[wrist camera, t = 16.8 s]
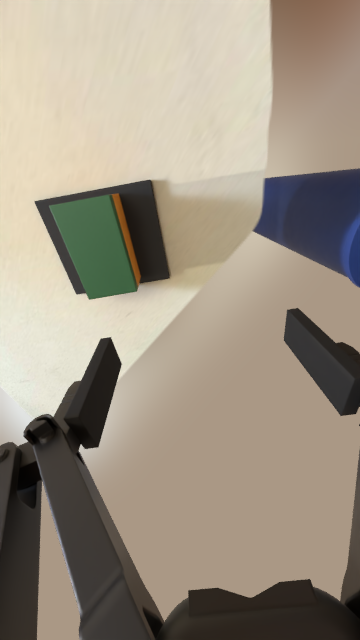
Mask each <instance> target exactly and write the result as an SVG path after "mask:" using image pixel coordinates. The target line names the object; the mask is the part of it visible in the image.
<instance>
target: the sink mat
mask: <svg viewBox="0 0 360 640" xmlns="http://www.w3.org/2000/svg"><path fill="white" fill-rule="evenodd" d="M110 194H119V196H120V200H121V204H122V208H123V211H124V215H125V219H126V223H127V226H128V230H129V234H130V238H131V241H132V245H133V249H134V253H135V256H136V260H137V264H138V268H139V271H140V275H141V278H140V282H139V283H145V282H151V281H156V280H162V279H168V278H169V273H168V268H167V262H166V257H165V252H164V247H163V242H162V237H161V231H160V226H159V221H158V216H157V211H156V206H155V201H154V195H153V190H152V185H151V180H146V181H140V182H135V183H130V184H124V185H119V186H114V187H109V188H103V189H98V190H93V191H87V192H82V193H77V194H71V195H66V196H61V197H56V198H50V199H45V200H40V201H35V204H36V206H37V208H38V211H39V213H40V215H41V217H42V219H43V222H44V224H45V226H46V228H47V230H48V233H49V235H50V237H51V239H52V241H53V244H54V246H55V248H56V250H57V252H58V255H59V257H60V259H61V261H62V263H63V266H64V268H65V270H66V272H67V274H68V277H69V279H70V281H71V283H72V285H73V288H74V290H75V292H76V294H82V293H86V291H85V289H84V287H83V284H82V282H81V280H80V277H79V275H78V273H77V270H76V268H75V266H74V263H73V261H72V259H71V256H70V254H69V251H68V249H67V247H66V244H65V242H64V240H63V237H62V235H61V233H60V230H59V228H58V226H57V223H56V221H55V219H54V216H53V214H52V212H51V209H50V207H49V206H51V205H56V204H61V203H67V202H72V201H77V200H83V199H88V198H93V197H99V196H104V195H110Z"/></svg>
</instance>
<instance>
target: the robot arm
mask: <svg viewBox="0 0 360 640" xmlns="http://www.w3.org/2000/svg"><path fill="white" fill-rule="evenodd" d="M284 341H285V342H286V344H287V345H288V346H289V348H290V349H291V350H292V352H293V353H294V354H295V356H296V357H297V358H298V360H299V361H300V362H301V364H302V365H303V366H304V368H305V369H306V370H307V372H308V373H309V374H310V376H311V377H312V378H313V380H314V381H315V382H316V384H317V385H318V386H319V387H320V389H321V390H322V391H323V393H324V394H325V395H326V397H327V398H328V399H329V401H330V402H331V403H332V404H333V406H334V407H335V409H336V410H337V411H338V412H339V414H340V415H341V416H343V415H351V414H356V412H357V410H358V408H359V407H360V354H359V352H358V351H356V350H355V349H354V348H353V347H351V346H349V345H347V344H345V343H343V342H340V343H335V342H334V341H333V340H332V339H331V338H329V336H327V335H326V334H325V333H324V332H323V331H322V330H321V329H320V328H319V327H318V326H317V325H315V323H313V322H312V321H311V320H310V319H309V318H308V317H307V316H306V315H305V314H304V313H303V312H302V311H300V310H299V309H298V308H296V309H290V310H287V317H286V326H285V334H284ZM121 365H122V364H121V361H120V359H119V357H118V354H117V352H116V349H115V347H114V344H113V342H112V339H111V337H109V338H103V339H101V340H100V342H99V344H98V346H97V348H96V350H95V352H94V354H93V357H92V359H91V361H90V363H89V365H88V367H87V369H86V371H85V374H84V376H83V378H82V380H81V381H76V382H74V383H73V384H72V385H71V386H70V387H69V388H68V390H67V392H66V394H65V397H64V398H63V400H62V403H61V404H60V406H59V408H58V409H57V411H56V413H55V415H54V417H52V416H51V415H49V414H45V415H41V416H39V417H37V418H35V419H34V420H33V421H32V422H30V423H29V425H28V426H27V427H26V429H25V431H24V437H25V438H26V439H27V440H28V442H27V443H24V444H22V445H20V446H16V445H15V444H14V443H13V442H8V443H5V444H3V445H1V446H0V640H37V614H38V582H39V552H40V521H41V491H42V481H43V484H44V488H45V492H46V495H47V499H48V502H49V506H50V509H51V513H52V516H53V520H54V523H55V527H56V531H57V534H58V537H59V541H60V545H61V548H62V552H63V556H64V559H65V562H66V566H67V570H68V573H69V577H70V580H71V584H72V587H73V591H74V594H75V598H76V602H77V605H78V609H79V612H80V619H81V622H80V627H79V638H80V640H360V451H359V461H358V472H357V481H356V490H355V500H354V509H353V519H352V529H351V538H350V547H349V557H348V565H347V570H346V573H345V576H344V580H343V585H342V592H341V600H340V601H339V600H338V599H336V598H335V597H333V596H331V595H330V594H328V593H327V592H324V591H322V590H320V589H318V588H315V587H313V586H312V583H311V580H310V579H308V580H297V581H286V582H279V583H277V584H275V585H274V586H272V587H270V588H269V589H267V590H265V591H263V592H261V593H260V594H258V595H256V596H255V597H252V598H248V597H245V596H242V595H238V594H235V593H232V592H229V591H226V590H223V589H219V588H212V589H200V590H189V591H188V592H189V593H188V594H189V597H188V598H187V599H185V600H183V601H182V602H181V603H180V604H178V605H177V606H176V608H175V609H174V610H173V611H172V612H171V613H170V615H169V616H168V618H167V619H166V620H165V622H164V620H163V618H162V616H161V614H160V612H159V610H158V608H157V606H156V604H155V602H154V601H153V599H152V597H151V596H150V594H149V592H148V591H147V589H146V587H145V585H144V584H143V582H142V580H141V578H140V576H139V574H138V572H137V570H136V567H135V565H134V563H133V561H132V559H131V557H130V555H129V553H128V551H127V549H126V547H125V545H124V543H123V540H122V538H121V536H120V534H119V532H118V530H117V528H116V526H115V524H114V522H113V520H112V518H111V516H110V514H109V512H108V510H107V508H106V505H105V504H104V501H103V499H102V497H101V495H100V493H99V491H98V489H97V487H96V485H95V483H94V481H93V479H92V477H91V474H90V472H89V470H88V469H87V466H86V464H85V462H84V460H83V458H82V456H81V454H80V452H79V451H78V450H79V447H80V444H82V446H83V447H84V448H85V449H88V448H95V447H98V446H99V443H100V439H101V435H102V432H103V429H104V425H105V422H106V418H107V414H108V411H109V407H110V404H111V400H112V397H113V393H114V389H115V386H116V382H117V379H118V375H119V372H120V368H121ZM359 426H360V425H359Z"/></svg>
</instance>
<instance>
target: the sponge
mask: <svg viewBox="0 0 360 640" xmlns="http://www.w3.org/2000/svg"><path fill="white" fill-rule="evenodd" d="M49 207H50V209H51V212H52V214H53V216H54V219H55V221H56V223H57V226H58V228H59V230H60V233H61V235H62V237H63V240H64V242H65V244H66V247H67V249H68V251H69V254H70V256H71V259H72V261H73V263H74V266H75V268H76V270H77V273H78V275H79V277H80V280H81V282H82V284H83V287H84V289H85V291H86V294H87V296H88V298H89V300H90V299H96V298H102V297H107V296H113V295H119V294H125V293H130V292H136V291H137V289H138V286H139V282H140V278H141V275H140V271H139V268H138V264H137V260H136V256H135V253H134V249H133V245H132V241H131V238H130V234H129V230H128V226H127V223H126V219H125V215H124V211H123V208H122V204H121V200H120V196H119V194H110V195H104V196H99V197H93V198H88V199H83V200H77V201H72V202H67V203H61V204H56V205H51V206H49Z"/></svg>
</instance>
